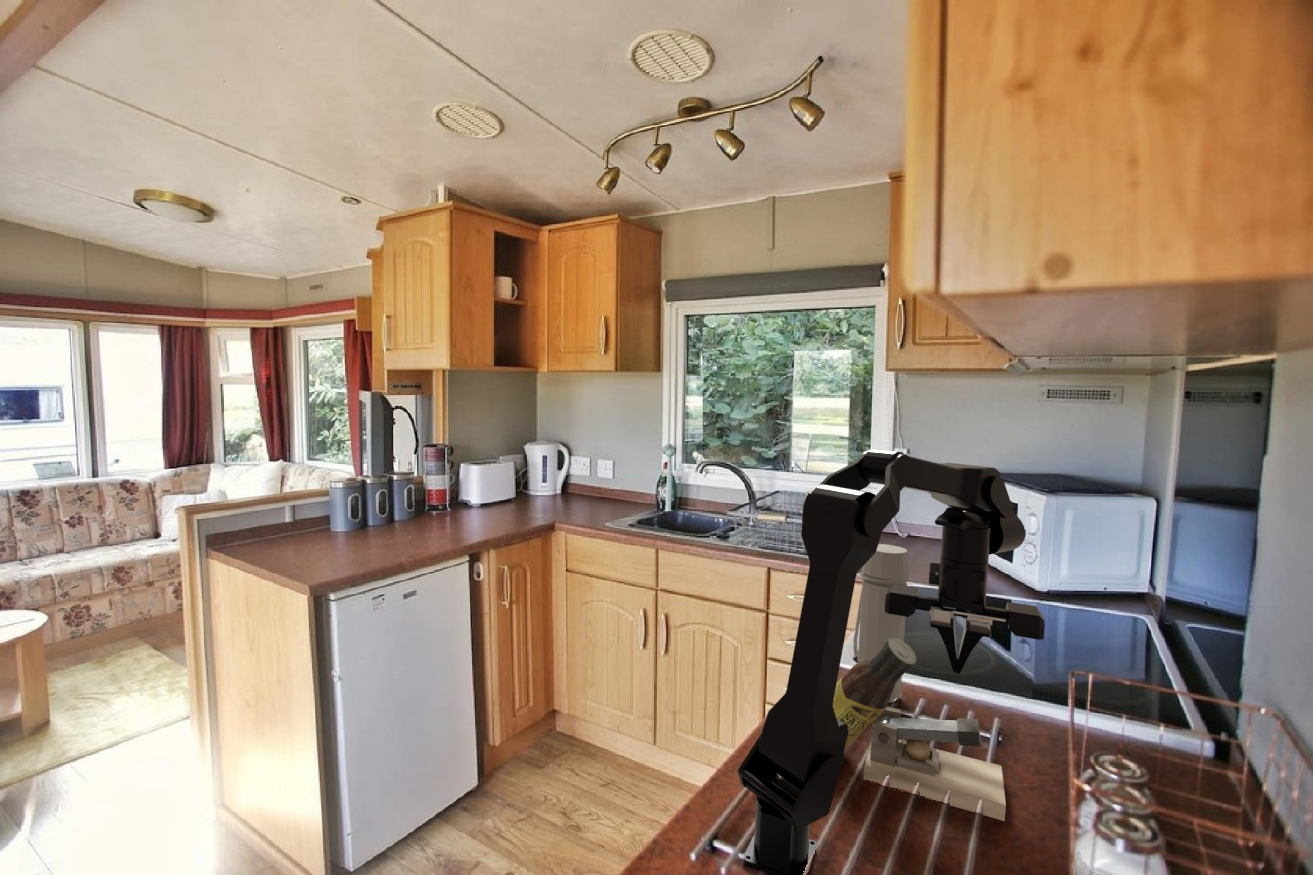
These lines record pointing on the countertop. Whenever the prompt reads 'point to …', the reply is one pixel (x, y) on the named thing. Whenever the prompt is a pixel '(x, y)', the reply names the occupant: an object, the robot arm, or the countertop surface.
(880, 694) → the sauce bottle
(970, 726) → the nutcracker lever
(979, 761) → the nutcracker base
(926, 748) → the walnut
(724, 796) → the countertop surface
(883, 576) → the water bottle
